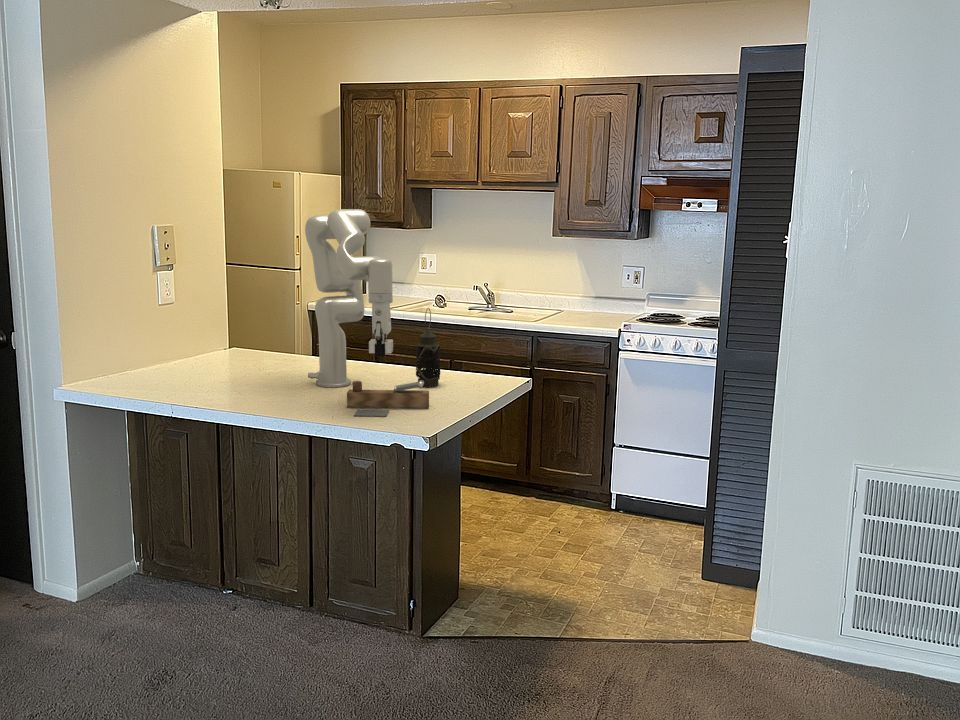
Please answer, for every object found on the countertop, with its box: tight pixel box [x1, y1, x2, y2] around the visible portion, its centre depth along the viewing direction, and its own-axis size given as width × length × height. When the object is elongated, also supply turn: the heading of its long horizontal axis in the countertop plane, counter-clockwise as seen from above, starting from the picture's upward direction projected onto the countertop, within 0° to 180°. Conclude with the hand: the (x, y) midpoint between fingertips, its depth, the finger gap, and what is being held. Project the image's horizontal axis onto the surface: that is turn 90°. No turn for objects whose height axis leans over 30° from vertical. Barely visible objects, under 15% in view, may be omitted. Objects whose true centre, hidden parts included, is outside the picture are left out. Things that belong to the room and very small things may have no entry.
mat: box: [353, 409, 390, 418], centre depth 266 cm, size 10×7×1 cm
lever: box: [393, 380, 424, 392], centre depth 273 cm, size 2×5×10 cm
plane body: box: [346, 380, 430, 410], centre depth 274 cm, size 26×4×8 cm, turn 89°
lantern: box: [414, 307, 441, 389], centre depth 303 cm, size 10×9×28 cm
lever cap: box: [368, 338, 394, 355], centre depth 271 cm, size 7×5×4 cm
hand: (381, 354), depth 272 cm, fingers closed on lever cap, 5 cm apart
